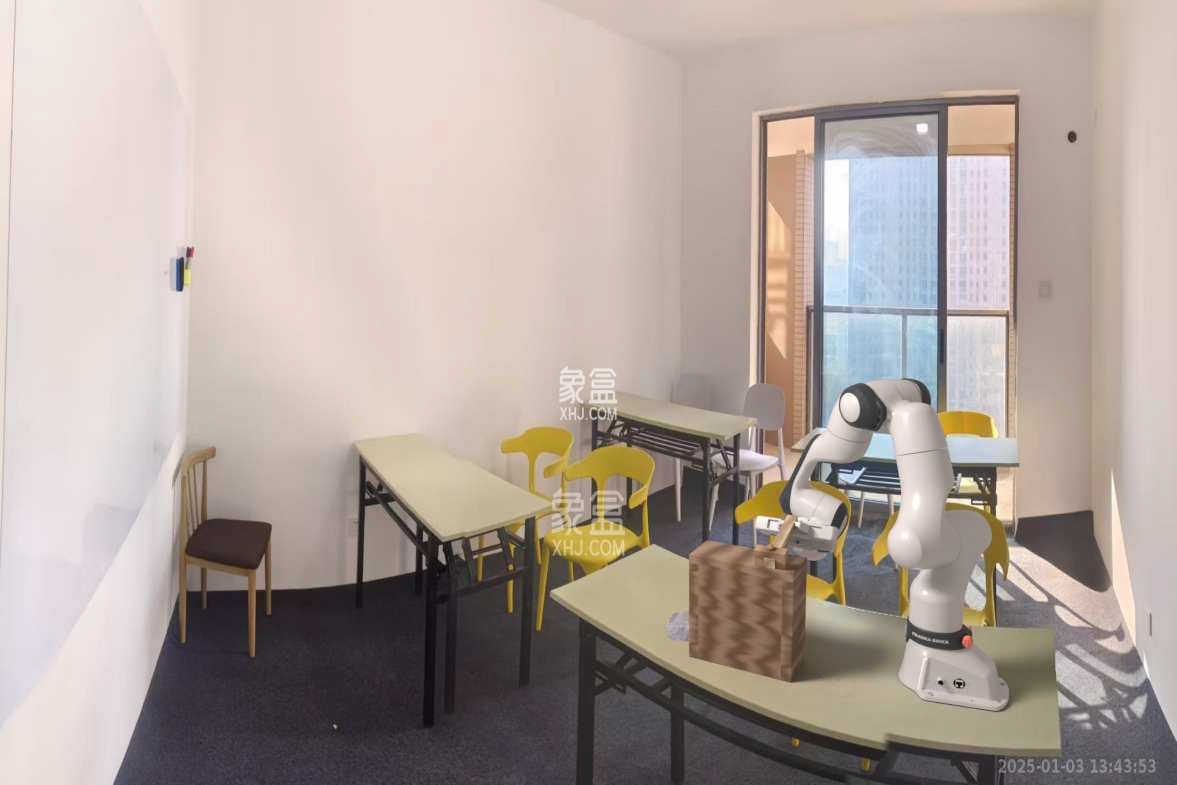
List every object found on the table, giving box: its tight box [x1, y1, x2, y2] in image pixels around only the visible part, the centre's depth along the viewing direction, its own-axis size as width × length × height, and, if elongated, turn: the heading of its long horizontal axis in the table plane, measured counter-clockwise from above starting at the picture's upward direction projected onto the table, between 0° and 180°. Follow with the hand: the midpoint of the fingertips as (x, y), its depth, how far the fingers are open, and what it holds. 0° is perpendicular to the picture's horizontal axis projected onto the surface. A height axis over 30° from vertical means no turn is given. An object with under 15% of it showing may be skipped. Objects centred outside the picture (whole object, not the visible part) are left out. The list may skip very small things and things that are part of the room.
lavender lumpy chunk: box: [666, 610, 689, 642], centre depth 203 cm, size 12×5×10 cm
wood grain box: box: [688, 540, 808, 683], centre depth 186 cm, size 25×11×26 cm, turn 59°
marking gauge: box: [754, 514, 798, 570], centre depth 183 cm, size 7×20×5 cm, turn 151°
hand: (789, 523), depth 189 cm, fingers closed on marking gauge, 2 cm apart
